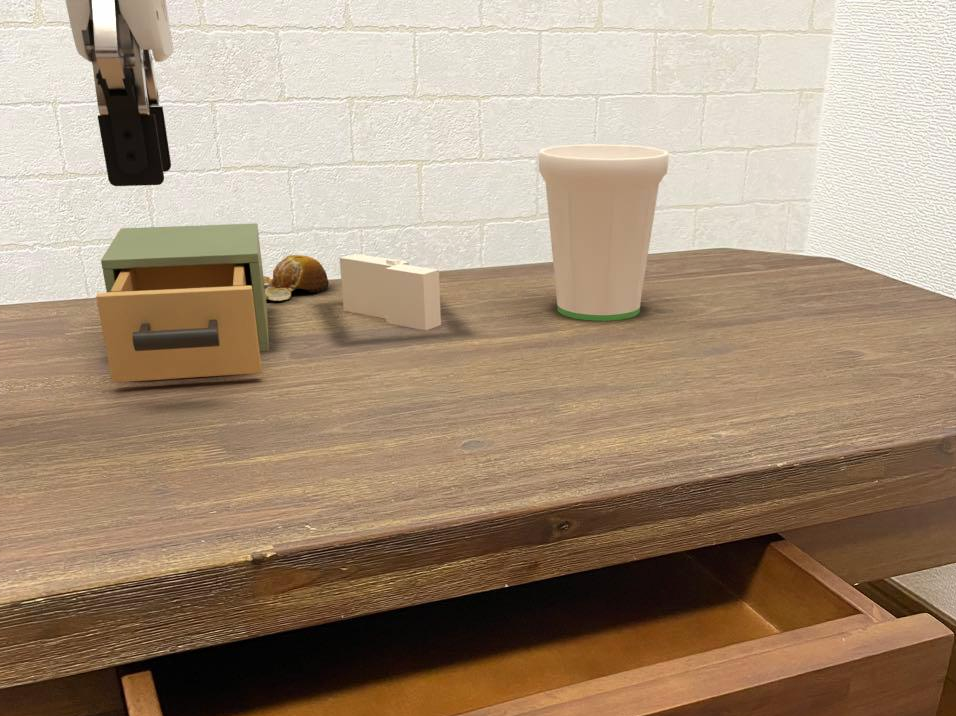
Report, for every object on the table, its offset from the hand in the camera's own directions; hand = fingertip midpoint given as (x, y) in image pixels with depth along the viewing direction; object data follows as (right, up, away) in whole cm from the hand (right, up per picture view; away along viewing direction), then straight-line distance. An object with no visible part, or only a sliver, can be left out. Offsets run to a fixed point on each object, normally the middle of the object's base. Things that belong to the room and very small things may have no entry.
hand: (141, 174), depth 67 cm
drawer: (-3, -9, +20) cm, 22 cm away
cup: (+32, 0, +39) cm, 50 cm away
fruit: (-2, +3, +45) cm, 45 cm away
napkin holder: (+11, -2, +35) cm, 37 cm away
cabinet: (-6, -4, +30) cm, 31 cm away
